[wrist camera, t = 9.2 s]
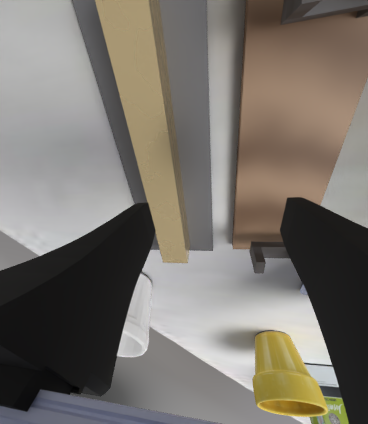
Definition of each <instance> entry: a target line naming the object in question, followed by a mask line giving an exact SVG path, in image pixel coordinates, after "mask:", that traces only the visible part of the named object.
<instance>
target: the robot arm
mask: <svg viewBox="0 0 368 424" xmlns="http://www.w3.org/2000/svg"><path fill="white" fill-rule="evenodd" d="M155 232H156V230H155V226H154V222H153V219H152V215H151V211H150V207H149V203H148V202H145V203H137V204H135V205H133V206H131V207H130V208H128V209H126V210H125V211H123V212H122V213H120V214H119V215H117V216H116V217H114V218H113V219H111V220H110V221H108V222H106V223H105V224H103V225H101V226H100V227H98V228H96V229H95V230H93V231H91V232H90V233H88V234H86V235H84V236H82V237H81V238H79V239H77V240H75V241H73V242H71V243H69V244H67V245H64V246H62V247H60V248H58V249H55V250H53V251H51V252H49V253H46V254H44V255H42V256H39V257H37V258H34V259H32V260H29V261H26V262H24V263H21V264H18V265H16V266H13V267H10V268H7V269H4V270H1V271H0V424H221V423H215V422H210V421H205V420H200V419H194V418H189V417H184V416H179V415H173V414H168V413H163V412H158V411H152V410H147V409H142V408H137V407H131V406H126V405H121V404H115V403H110V402H105V401H99V400H94V399H88V398H84V397H78V396H73V395H70V393H76V394H81V393H84V394H90V395H95V396H102V395H103V394H105V393H106V392H107V391H108V390H109V389H110V387H111V382H112V377H113V372H114V367H115V362H116V358H117V353H118V349H119V345H120V340H121V336H122V332H123V328H124V324H125V320H126V317H127V313H128V309H129V306H130V302H131V299H132V296H133V292H134V289H135V286H136V283H137V281H138V278H139V276H140V273H141V271H142V269H143V266H144V264H145V261H146V259H147V257H148V254H149V252H150V249H151V247H152V244H153V240H154V236H155ZM280 233H281V236H282V239H283V242H284V245H285V248H286V250H287V252H288V254H289V256H290V259H291V261H292V263H293V265H294V267H295V269H296V271H297V273H298V275H299V277H300V279H301V281H302V283H303V285H302V287H301V289H300V292H301V294H304V295H308V296H309V298H310V301H311V304H312V306H313V309H314V312H315V314H316V317H317V320H318V323H319V326H320V329H321V331H322V334H323V337H324V340H325V343H326V346H327V349H328V353H329V356H330V359H331V362H332V365H333V369H334V372H335V375H336V378H337V382H338V385H339V389H340V393H341V396H342V400H343V403H344V407H345V410H346V414H347V418H348V422H349V424H368V228H366V227H363V226H361V225H359V224H357V223H355V222H352V221H350V220H348V219H346V218H344V217H342V216H340V215H338V214H336V213H334V212H332V211H330V210H328V209H326V208H324V207H322V206H320V205H318V204H316V203H314V202H312V201H309V200H307V199H305V198H302V197H290V198H287V201H286V205H285V210H284V214H283V218H282V223H281V227H280Z"/></svg>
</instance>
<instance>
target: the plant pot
mask: <svg viewBox="0 0 368 424" xmlns="http://www.w3.org/2000/svg"><path fill="white" fill-rule="evenodd" d="M253 388H254V395H255V400H256V405H257V406H258V407H259V408H260V409H262V410H265V411H268V412H271V413H276V414H281V415H288V416H300V417H313V416H321V415H325V414H327V413H328V407H327V405H326V402H325V399H324V397H323V394H322V392H321V389H320V387H319V385H318V382H317V381H316V380H315V379H314V378H313V377H311V375H310V374H309V372H308V370H307V368H306V366H305V364H304V362H303V361H302V359H301V357H300V355H299V353H298V351H297V349H296V348H295V346H294V344H293V342H292V340H291V338H290V337H289V336H288V335H287V334H285V333H282V332H278V331H265V332H261V333H259V334H257V335H256V337H255V376H254V377H253Z"/></svg>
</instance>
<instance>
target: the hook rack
mask: <svg viewBox="0 0 368 424" xmlns="http://www.w3.org/2000/svg"><path fill="white" fill-rule="evenodd" d="M367 78H368V0H246V10H245V27H244V45H243V63H242V80H241V98H240V116H239V133H238V151H237V169H236V186H235V204H234V222H233V239H232V245H233V249H250V256H251V260H252V264H253V268H254V272H255V273H263V272H264V267H265V263H266V262H265V259H264V258H290V256H289V254H288V252H287V250H286V248H285V245H284V242H283V239H282V236H281V233H280V227H281V223H282V218H283V214H284V210H285V205H286V201H287V198H290V197H302V198H305V199H307V200H309V201H312V202H314V203H316V204H318V205H320V204H321V202H322V199H323V196H324V194H325V191H326V188H327V186H328V183H329V180H330V177H331V175H332V172H333V169H334V167H335V164H336V161H337V159H338V156H339V153H340V150H341V148H342V145H343V142H344V140H345V137H346V134H347V132H348V129H349V126H350V124H351V121H352V118H353V115H354V113H355V110H356V107H357V105H358V102H359V99H360V97H361V94H362V91H363V88H364V86H365V83H366V80H367Z"/></svg>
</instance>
